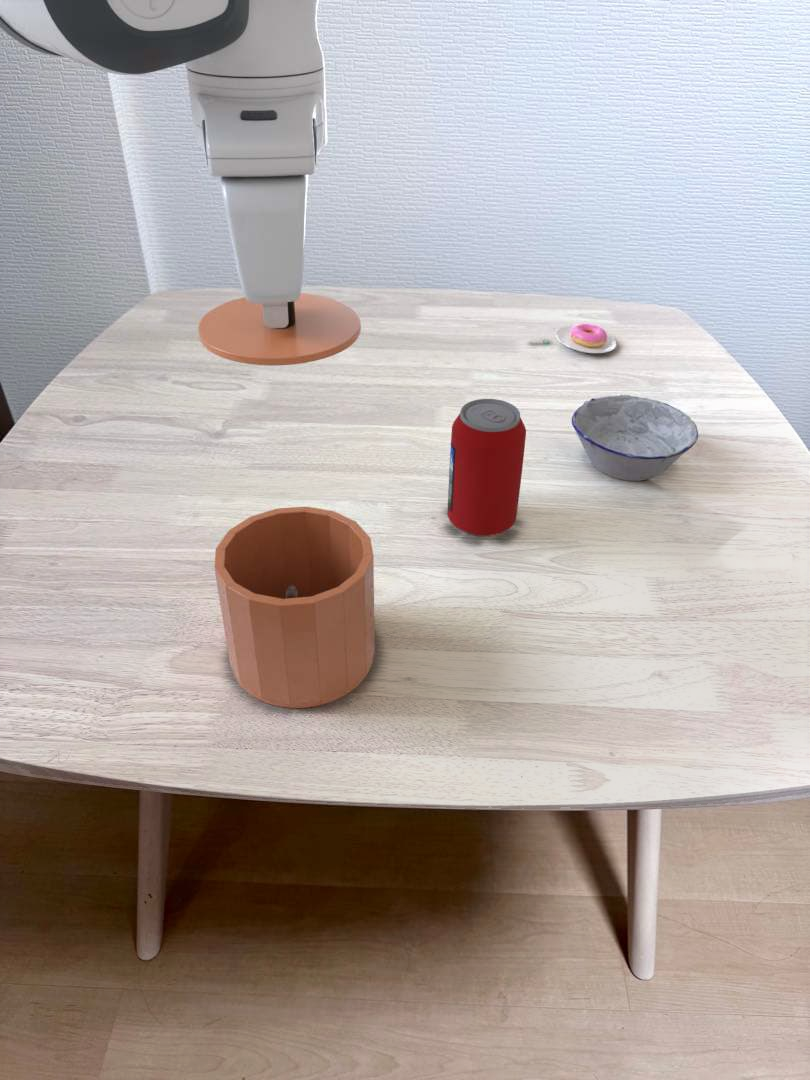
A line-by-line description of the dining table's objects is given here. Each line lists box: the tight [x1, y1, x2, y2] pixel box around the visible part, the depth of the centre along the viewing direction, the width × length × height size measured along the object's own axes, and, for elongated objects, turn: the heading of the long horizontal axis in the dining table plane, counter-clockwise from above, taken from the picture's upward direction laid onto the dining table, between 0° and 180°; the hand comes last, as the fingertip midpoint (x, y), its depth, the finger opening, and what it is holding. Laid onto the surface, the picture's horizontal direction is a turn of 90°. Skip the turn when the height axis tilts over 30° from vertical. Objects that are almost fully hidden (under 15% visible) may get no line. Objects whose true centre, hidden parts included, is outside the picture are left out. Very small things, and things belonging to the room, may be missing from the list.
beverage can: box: [447, 398, 527, 537], centre depth 79 cm, size 7×7×12 cm
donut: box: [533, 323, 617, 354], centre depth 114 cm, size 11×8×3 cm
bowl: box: [571, 394, 699, 482], centre depth 90 cm, size 13×13×5 cm
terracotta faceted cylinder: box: [214, 506, 376, 709], centre depth 65 cm, size 11×11×10 cm
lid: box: [197, 292, 362, 367], centre depth 64 cm, size 12×12×5 cm
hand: (276, 314), depth 65 cm, fingers closed on lid, 2 cm apart
